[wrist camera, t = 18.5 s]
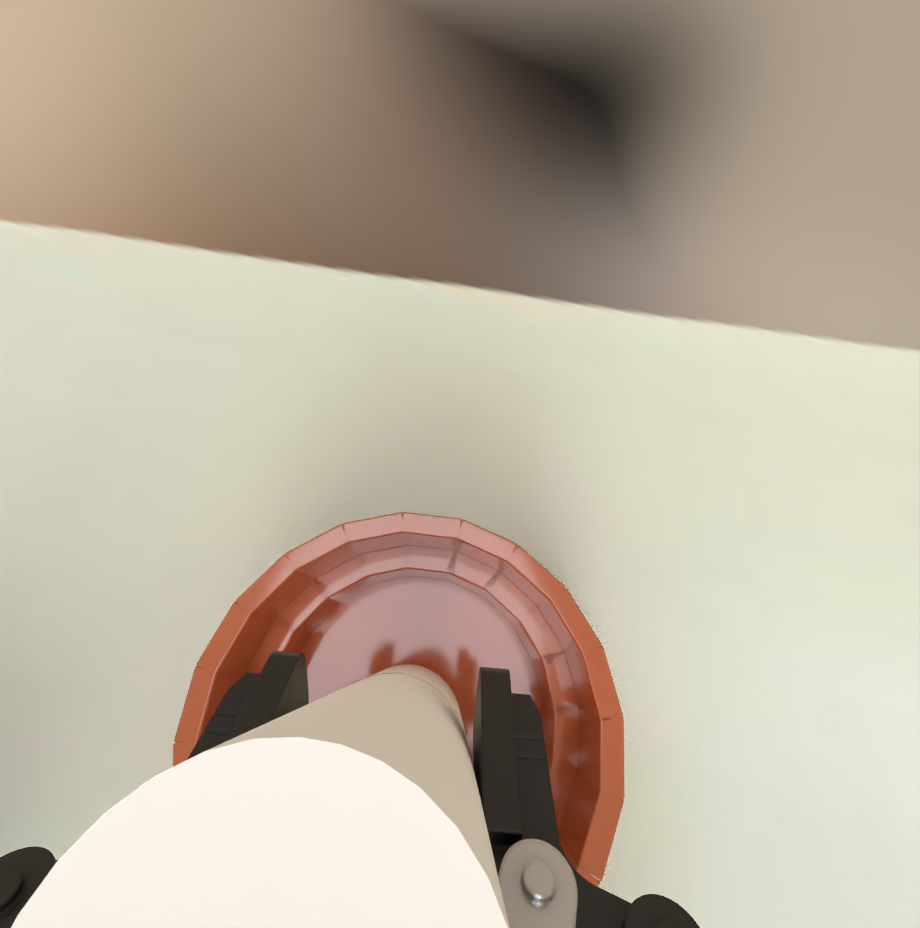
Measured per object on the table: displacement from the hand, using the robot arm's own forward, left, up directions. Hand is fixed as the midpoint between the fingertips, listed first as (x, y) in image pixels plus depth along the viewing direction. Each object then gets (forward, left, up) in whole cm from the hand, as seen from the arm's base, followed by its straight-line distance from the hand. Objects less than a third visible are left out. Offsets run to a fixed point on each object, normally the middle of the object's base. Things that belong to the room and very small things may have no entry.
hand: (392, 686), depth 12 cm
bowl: (-1, -1, -11) cm, 11 cm away
